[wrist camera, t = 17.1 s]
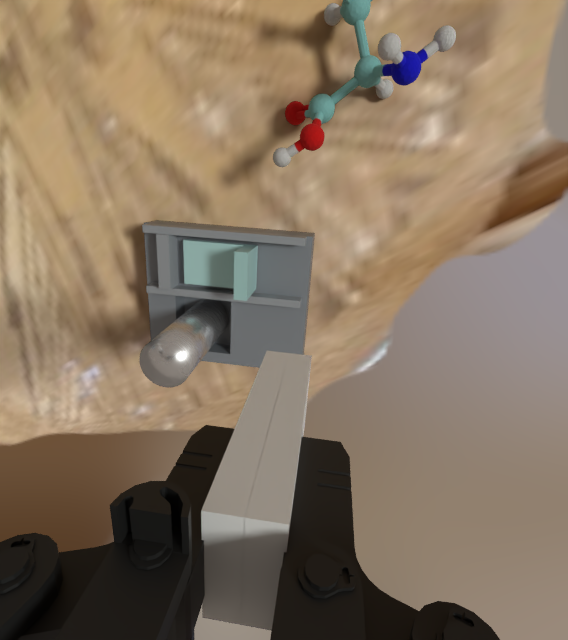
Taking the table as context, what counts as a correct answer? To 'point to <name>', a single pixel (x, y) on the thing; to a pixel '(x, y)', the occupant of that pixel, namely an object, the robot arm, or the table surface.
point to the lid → (221, 266)
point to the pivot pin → (183, 343)
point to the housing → (244, 316)
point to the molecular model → (359, 74)
